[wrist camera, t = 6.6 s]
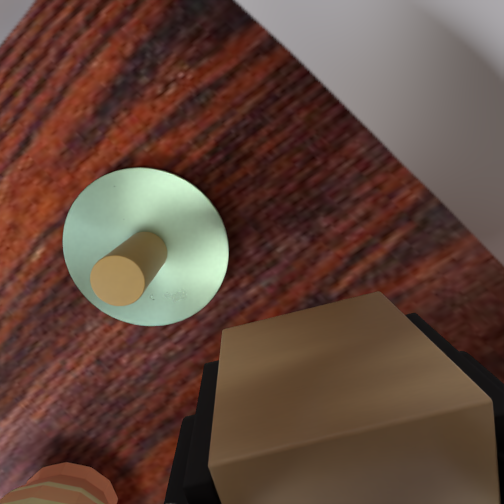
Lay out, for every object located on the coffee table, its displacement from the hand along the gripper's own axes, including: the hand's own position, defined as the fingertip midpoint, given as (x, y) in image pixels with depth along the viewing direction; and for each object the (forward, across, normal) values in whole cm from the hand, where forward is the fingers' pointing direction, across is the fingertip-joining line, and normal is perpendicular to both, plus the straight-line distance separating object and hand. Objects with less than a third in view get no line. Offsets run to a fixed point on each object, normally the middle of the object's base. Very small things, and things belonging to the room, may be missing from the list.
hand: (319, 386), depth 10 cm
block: (0, 0, 0) cm, 0 cm away
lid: (+18, +9, -2) cm, 20 cm away
